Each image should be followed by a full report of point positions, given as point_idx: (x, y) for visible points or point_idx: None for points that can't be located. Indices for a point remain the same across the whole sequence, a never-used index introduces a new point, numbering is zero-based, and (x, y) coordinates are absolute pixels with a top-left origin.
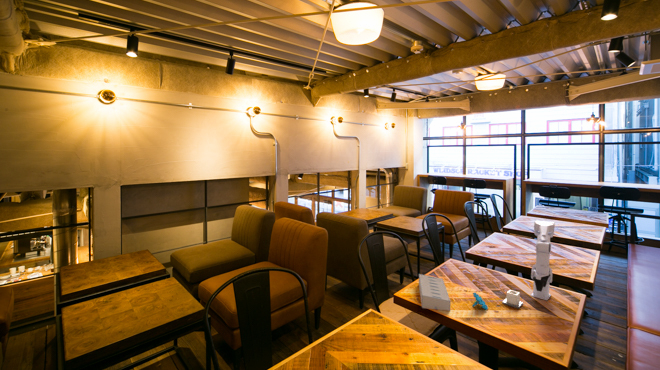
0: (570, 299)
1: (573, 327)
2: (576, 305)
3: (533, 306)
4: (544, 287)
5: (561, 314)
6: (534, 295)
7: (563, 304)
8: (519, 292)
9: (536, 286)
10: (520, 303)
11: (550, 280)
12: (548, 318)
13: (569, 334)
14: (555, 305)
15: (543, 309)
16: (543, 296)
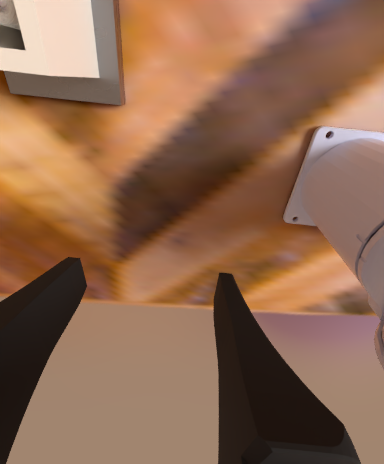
0: (356, 293)
1: None
2: (291, 307)
3: (142, 168)
4: (338, 252)
5: (152, 273)
6: (323, 152)
7: (274, 275)
8: (46, 69)
9: (28, 289)
10: (81, 90)
11: (376, 347)
12: (63, 239)
13: (8, 293)
14: (239, 252)
15: (144, 215)
16: (305, 209)
